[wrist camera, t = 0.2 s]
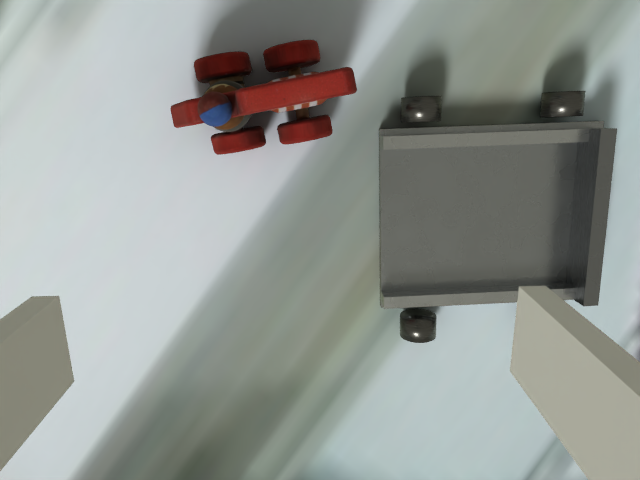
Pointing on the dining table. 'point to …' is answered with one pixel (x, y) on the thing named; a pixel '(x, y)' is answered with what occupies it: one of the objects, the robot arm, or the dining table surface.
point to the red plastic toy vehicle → (263, 96)
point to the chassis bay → (491, 210)
